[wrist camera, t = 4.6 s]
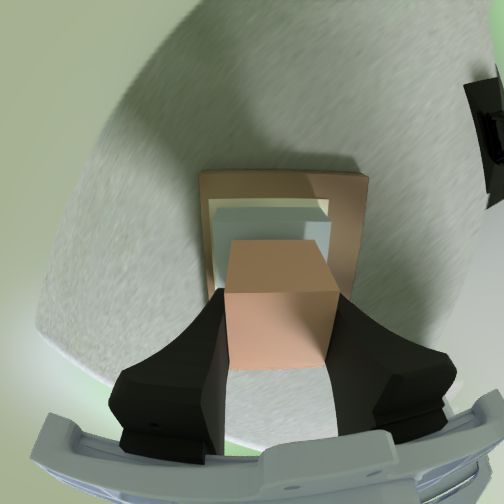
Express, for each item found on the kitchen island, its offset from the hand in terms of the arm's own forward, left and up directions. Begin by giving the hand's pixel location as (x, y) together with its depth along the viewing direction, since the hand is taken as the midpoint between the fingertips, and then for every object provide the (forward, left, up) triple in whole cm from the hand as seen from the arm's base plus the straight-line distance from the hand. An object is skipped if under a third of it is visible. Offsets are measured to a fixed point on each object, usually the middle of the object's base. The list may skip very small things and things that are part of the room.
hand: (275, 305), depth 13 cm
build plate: (+10, -19, -7) cm, 23 cm away
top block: (0, 0, -2) cm, 2 cm away
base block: (0, 0, -5) cm, 5 cm away
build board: (-2, -1, -7) cm, 7 cm away
